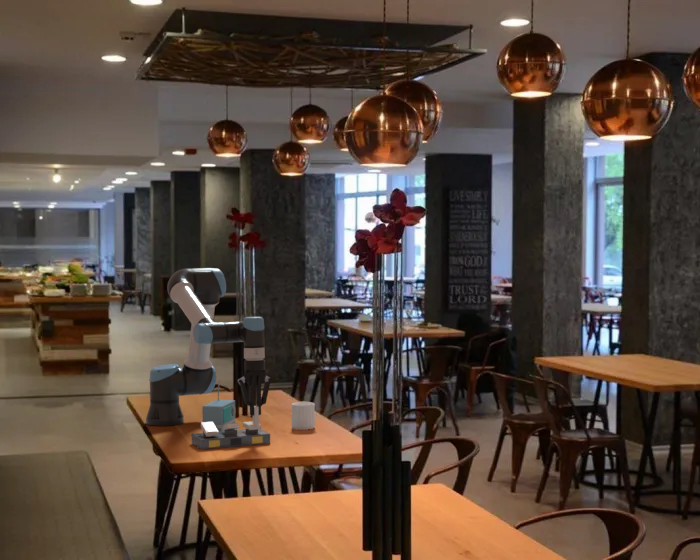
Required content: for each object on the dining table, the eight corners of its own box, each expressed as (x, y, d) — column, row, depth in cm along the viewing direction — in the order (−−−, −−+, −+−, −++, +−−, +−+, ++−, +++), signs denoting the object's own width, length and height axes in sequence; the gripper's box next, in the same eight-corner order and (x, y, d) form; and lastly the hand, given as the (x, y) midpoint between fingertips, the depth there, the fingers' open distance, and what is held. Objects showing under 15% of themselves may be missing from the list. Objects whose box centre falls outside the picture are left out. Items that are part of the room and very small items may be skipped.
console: (191, 443, 367) (191, 430, 367) (259, 437, 378) (259, 424, 378) (200, 449, 356) (200, 436, 356) (270, 443, 367) (270, 430, 366)
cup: (296, 431, 391) (296, 406, 391) (287, 426, 400) (287, 402, 400) (318, 429, 395) (318, 404, 395) (309, 425, 404) (309, 400, 404)
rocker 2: (222, 431, 369) (221, 426, 370) (233, 430, 371) (233, 425, 371) (228, 428, 362) (227, 423, 363) (240, 427, 364) (239, 422, 364)
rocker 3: (242, 426, 373) (242, 421, 373) (254, 425, 375) (254, 420, 374) (249, 430, 365) (249, 425, 365) (261, 429, 367) (261, 424, 367)
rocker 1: (200, 426, 366) (200, 422, 366) (212, 425, 368) (212, 421, 368) (206, 436, 359) (206, 432, 359) (218, 435, 361) (218, 431, 361)
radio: (225, 438, 377) (224, 385, 377) (202, 437, 379) (201, 384, 378) (238, 430, 393) (237, 379, 392) (216, 429, 395) (215, 379, 394)
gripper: (240, 361, 360) (241, 427, 360) (274, 359, 365) (276, 424, 365) (234, 359, 366) (235, 424, 367) (268, 357, 372) (269, 421, 372)
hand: (255, 424), depth 366 cm, fingers closed
